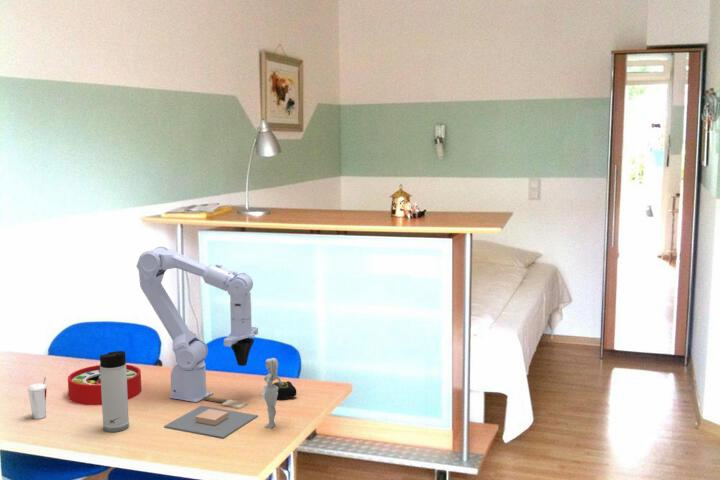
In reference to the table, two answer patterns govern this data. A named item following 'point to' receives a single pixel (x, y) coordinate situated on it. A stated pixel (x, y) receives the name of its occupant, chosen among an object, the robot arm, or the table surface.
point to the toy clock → (98, 385)
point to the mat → (219, 430)
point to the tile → (211, 417)
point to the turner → (227, 402)
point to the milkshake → (38, 399)
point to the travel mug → (114, 391)
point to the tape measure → (285, 390)
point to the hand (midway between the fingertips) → (242, 365)
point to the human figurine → (271, 389)
